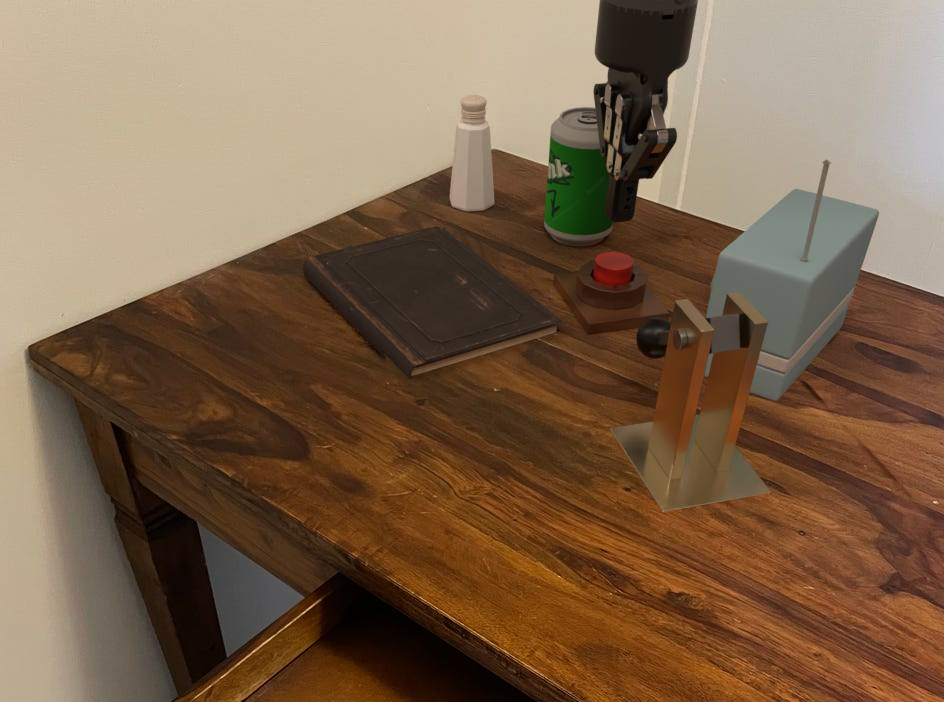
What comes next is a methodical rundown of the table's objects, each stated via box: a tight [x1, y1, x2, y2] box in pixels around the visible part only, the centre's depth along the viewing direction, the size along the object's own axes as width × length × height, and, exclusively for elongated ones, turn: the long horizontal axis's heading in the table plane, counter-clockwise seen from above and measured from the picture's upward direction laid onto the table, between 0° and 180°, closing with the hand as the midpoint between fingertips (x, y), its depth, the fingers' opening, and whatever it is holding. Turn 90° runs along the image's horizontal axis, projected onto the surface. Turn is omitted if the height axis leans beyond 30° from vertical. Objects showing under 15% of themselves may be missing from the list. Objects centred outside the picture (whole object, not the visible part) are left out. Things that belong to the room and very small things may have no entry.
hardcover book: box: [302, 224, 564, 380], centre depth 92 cm, size 16×23×2 cm
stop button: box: [593, 251, 634, 286], centre depth 89 cm, size 4×4×2 cm
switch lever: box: [635, 314, 740, 360], centre depth 72 cm, size 13×3×3 cm
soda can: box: [543, 106, 614, 247], centre depth 100 cm, size 8×8×12 cm
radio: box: [704, 159, 880, 402], centre depth 80 cm, size 16×9×20 cm, turn 145°
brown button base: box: [552, 259, 670, 336], centre depth 91 cm, size 10×8×4 cm
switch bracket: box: [609, 292, 772, 513], centre depth 71 cm, size 11×9×14 cm
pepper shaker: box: [448, 94, 496, 213], centre depth 106 cm, size 5×5×11 cm
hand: (618, 218), depth 86 cm, fingers closed
